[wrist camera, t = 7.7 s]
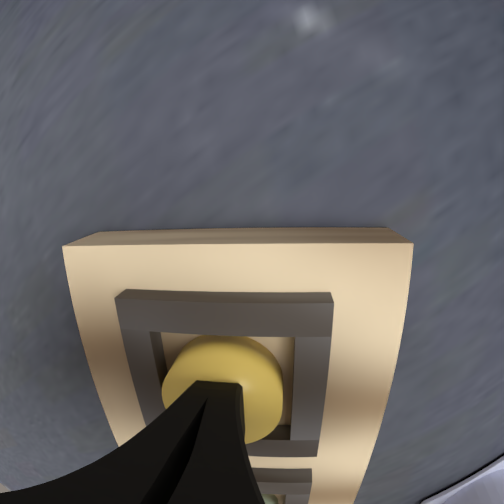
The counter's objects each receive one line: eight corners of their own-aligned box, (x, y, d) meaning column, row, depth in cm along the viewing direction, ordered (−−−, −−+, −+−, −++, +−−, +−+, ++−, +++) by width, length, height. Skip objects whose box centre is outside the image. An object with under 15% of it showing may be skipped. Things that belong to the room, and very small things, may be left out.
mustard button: (303, 396, 10) (303, 424, 9) (215, 428, 11) (207, 454, 9) (245, 312, 9) (238, 336, 8) (154, 357, 10) (139, 380, 9)
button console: (321, 544, 17) (322, 575, 14) (187, 536, 18) (178, 565, 15) (387, 227, 11) (424, 250, 8) (98, 232, 12) (47, 252, 9)
